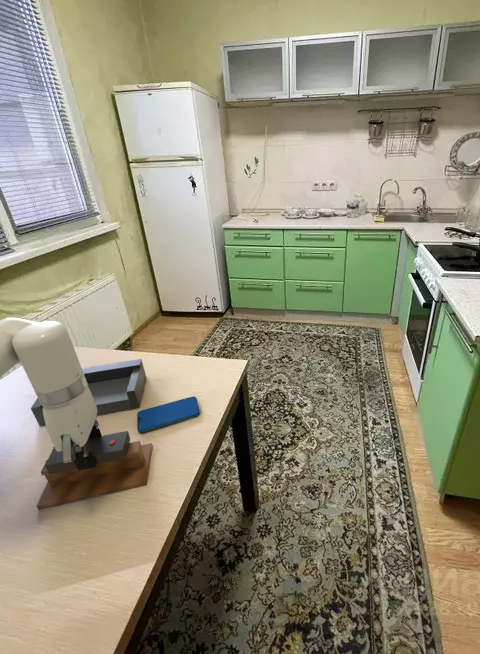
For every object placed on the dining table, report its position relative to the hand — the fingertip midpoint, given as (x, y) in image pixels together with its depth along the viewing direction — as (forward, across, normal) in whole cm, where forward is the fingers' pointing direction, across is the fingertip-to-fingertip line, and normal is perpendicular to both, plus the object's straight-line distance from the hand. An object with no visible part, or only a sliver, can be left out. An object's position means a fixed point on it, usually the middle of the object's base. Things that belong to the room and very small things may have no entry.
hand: (91, 454), depth 67 cm
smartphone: (+6, -14, +13) cm, 20 cm away
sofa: (+6, -26, -7) cm, 28 cm away
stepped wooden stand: (+6, 0, 0) cm, 6 cm away
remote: (0, 0, 0) cm, 0 cm away
